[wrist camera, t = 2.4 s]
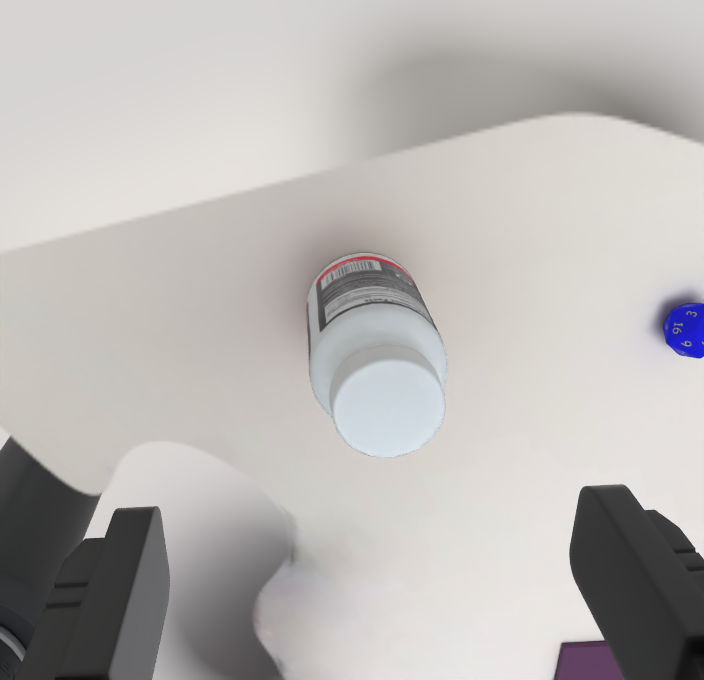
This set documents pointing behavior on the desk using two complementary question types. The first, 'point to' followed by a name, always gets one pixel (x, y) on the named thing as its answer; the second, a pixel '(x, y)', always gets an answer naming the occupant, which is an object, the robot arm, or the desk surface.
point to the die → (686, 330)
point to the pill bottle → (375, 355)
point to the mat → (587, 662)
